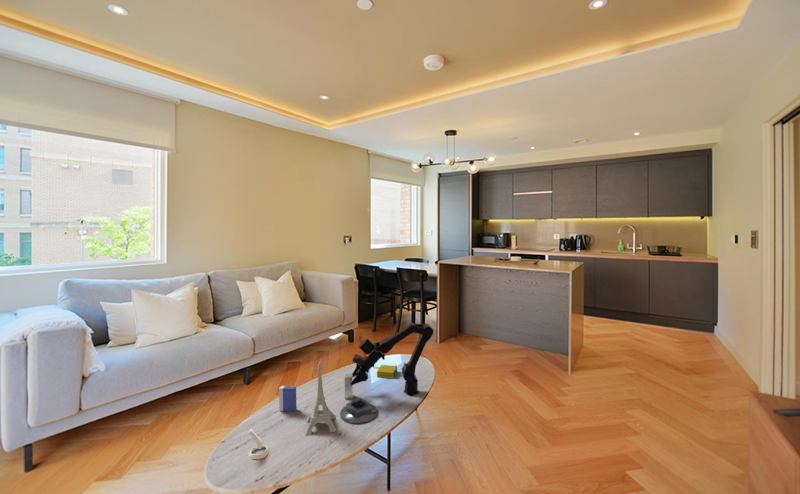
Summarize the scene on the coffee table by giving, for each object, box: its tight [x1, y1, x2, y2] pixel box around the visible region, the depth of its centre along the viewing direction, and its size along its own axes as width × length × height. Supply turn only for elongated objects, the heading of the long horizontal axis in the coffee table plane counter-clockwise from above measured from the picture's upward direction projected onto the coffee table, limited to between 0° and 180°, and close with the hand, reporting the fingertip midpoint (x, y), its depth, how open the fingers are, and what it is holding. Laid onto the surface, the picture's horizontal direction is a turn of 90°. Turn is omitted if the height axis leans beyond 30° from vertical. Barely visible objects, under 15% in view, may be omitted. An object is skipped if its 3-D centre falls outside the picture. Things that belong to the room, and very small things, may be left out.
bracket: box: [372, 364, 398, 380], centre depth 211 cm, size 16×8×15 cm
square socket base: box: [339, 397, 378, 425], centre depth 165 cm, size 18×18×4 cm
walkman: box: [278, 385, 297, 413], centre depth 169 cm, size 8×3×12 cm, turn 81°
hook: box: [247, 428, 270, 460], centre depth 136 cm, size 8×12×7 cm
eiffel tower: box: [304, 361, 337, 436], centre depth 155 cm, size 13×13×30 cm
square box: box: [344, 373, 354, 400], centre depth 182 cm, size 4×4×12 cm
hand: (351, 380), depth 182 cm, fingers open, 9 cm apart
